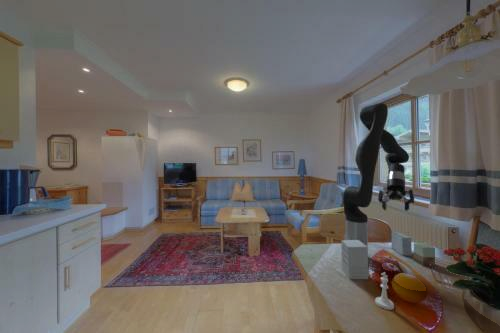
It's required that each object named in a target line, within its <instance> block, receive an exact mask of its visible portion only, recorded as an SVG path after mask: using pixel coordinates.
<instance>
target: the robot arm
mask: <svg viewBox="0 0 500 333" xmlns="http://www.w3.org/2000/svg"><path fill="white" fill-rule="evenodd" d="M388 112H389V110H388V106H387V104H385V103H384V102H381V103H375V104H371V105H368V106H365V107H362V108H361V109H360V111H359V118H360V119H359V120H360V121H361V123H362V124H363V126H365V128H366V129H367V130H368V133H367V134H366V135H365V137H363V139H362V140H361V141H360V143H359V144H358V146H357V149H356V153H355V158H354V159H355V164H356V166H357V168H358V171H359V173H360V185H359V186H355V185H354V186H353V185H349V186H348V187H347V186H346V188H345V189H344V191H343V196H342V197H343V199H342V200H343V213H344V215H345V233H344V234H343V240H359V241H360V242H362V243H363V244H364V245H366V246H367V247H368V248H369V246H368V244H369V243H368V242H369V241H368V240H369V238H368V237H369V236H368V233H369V232H368V231H369V230H368V215H367V214H366V213H364V212H363V211H362V210H361V209H360V208H365V209H366V208H368V207H369V206H370V204H371V203H372V199H373V193H374V192H373V191H374V180H375V172H376V166H377V163H378V157H379V152H380V146H381V148H382V150H383V151H384V152H385V153H386V155H384V156H385V163H386V165H387V169H388V173H387V179H386V191H383V190H379V191H378V197H377V198H378V199H377V201H378V202H379V203H380V204H381V208H382V209H383V211H386V210H387V204H388V202H390V201H391V200H393V201H394V200H395V201H396V200H397V201H400V200H402V201H403V202H404V210H405V212H407V211H409V210H410V204H414V203H415V196H414V194H415V193H414V191H413V189H409V190H406V177H405V172H406V171H405V166H404V165H403V164H405V163H407V162H408V161H409V159H410V155H409V153H408V152H407V151H406V150H405V149H404V148H403V147H402V146H401V145H400V144H399V143H398V141H397V140H396V137H395V136H394V135H393V134H392V133H391V132H390V131H388V130H386V129H385V126H386V123H387V119H388V115H389V114H388ZM406 195H407V196H409V199H408V198H407V197H406Z"/></svg>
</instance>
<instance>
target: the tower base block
mask: <svg viewBox="0 0 500 333" xmlns="http://www.w3.org/2000/svg"><path fill="white" fill-rule="evenodd" d="M413 262H416V263H417V264H418V265H421V266H422V267H431V266H430V264H431V265H433V266H432V267H436V256H435V257H422V256H420V255H418V254H417V253H415V252H414V251H413Z"/></svg>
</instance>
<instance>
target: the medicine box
mask: <svg viewBox="0 0 500 333" xmlns="http://www.w3.org/2000/svg"><path fill="white" fill-rule="evenodd" d="M390 235H391V250H393V251H395V252H396V253H398V254H400V255H401V256H405V257H410V256H413V255H412V254H413V252H412V251H413V250H412V248H413V247H412V237H410V236H408V235H406V234H403V233H401V232H391V234H390Z"/></svg>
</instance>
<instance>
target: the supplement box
mask: <svg viewBox="0 0 500 333" xmlns="http://www.w3.org/2000/svg"><path fill="white" fill-rule="evenodd" d="M340 243H341V270H342V271H343V273H344V274H345V276H346V277H347V278H348V279H349V280H369V246H368V247H367V246H366V245H364V244H363V243H362V242H360V241H359V240H344V239H342V240H341V241H340Z"/></svg>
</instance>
